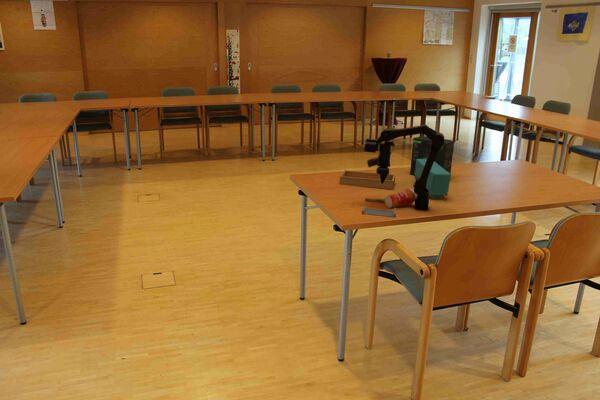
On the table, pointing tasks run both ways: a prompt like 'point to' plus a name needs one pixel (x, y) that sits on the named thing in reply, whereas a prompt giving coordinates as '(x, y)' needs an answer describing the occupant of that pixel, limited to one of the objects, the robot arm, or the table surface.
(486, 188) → the table surface
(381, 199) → the strip
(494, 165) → the table surface
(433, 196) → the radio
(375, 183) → the tray
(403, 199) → the coffee cup
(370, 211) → the mat
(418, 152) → the headset box
